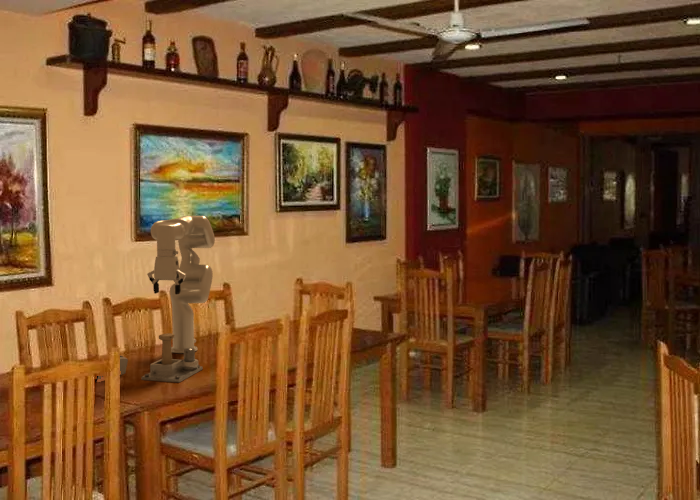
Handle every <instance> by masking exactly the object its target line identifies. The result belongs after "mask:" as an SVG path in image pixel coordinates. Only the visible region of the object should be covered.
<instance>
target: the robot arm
mask: <svg viewBox="0 0 700 500" xmlns="http://www.w3.org/2000/svg"><path fill="white" fill-rule="evenodd" d="M150 235H151V237H152V239H154V240H155V241H156V256H155V259H154V260H155V261H154V267H153V268H154V269H153V270H151V271H150V272H148V273H147V274H146V275H147V276H148V279H149V281H150V282H151V284H152V287H153V288H152V289H153V294H158V293H160V284H159V281H173V282H174V283H173V284H171V286H170V289H169V297H170V302H171V310H172V318H171V319H172V334H174V338H173V339H172V346H171V351H172V354H184V349H185V348H195V352H197V351H198V347H197V346H195V343H196V342H197V339H196V338H195V328H194V327H195V326H194V325H195V322H194V321H195V318H194V315H195V314H194V310H193V308H192V307H191V306H190V304H205V303H207V301H208V300H209V296H210V292H211V288H212V283H213V278H214V277H213V269H212V267H211V266H210V265H208V264H200V263H201V261H200V260H201V259H200V257H199V255H198V253H197V252H196V251H194V250H193V249H211V248H213V247H214V245H215V241H216V238H215V234H214V230H213V228H212V224H211V222H210V220H209V219H208V218H207V217H206V216H205V215H183V216H181V217H177V218H170V219H165V220H164V219H163V220H158V221H155V222H154V223H153V224H152V226H151V227H150ZM176 241H177V243H178V247H179V251H178V250H176ZM179 252H180V256H181V260H180V264H179V259H178V254H179ZM176 255H177V256H176Z"/></svg>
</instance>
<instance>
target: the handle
mask: <svg viewBox="0 0 700 500" xmlns="http://www.w3.org/2000/svg"><path fill="white" fill-rule="evenodd" d="M173 338H174V334H173V333H169V332H168V333H163V334H159V335H158V339H159V340H161V341H162V348H161V359H162V364H166V365H171V364H172V359H173V355H172V354H173V352H172V351H171V347H172V341H173Z"/></svg>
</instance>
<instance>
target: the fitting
mask: <svg viewBox="0 0 700 500" xmlns="http://www.w3.org/2000/svg"><path fill="white" fill-rule="evenodd" d="M195 354H196V351H195V348H185V349H184V353H183V359H175V358H172V364H171V365H166V364H162V358H160V359H158V360H156V361H154V362H152V363H150V365H149V366H150V367H149V369H150V371H149V372H148V373H144V375H143V376H141V381H153V382H154V381H155V382H167V383H181V382H182V381H184V380H187V379H188V378H190V377H191V376H193V375H195V374H197V373H199V372H200V371H202V370H203V366H201V365H200V364H199V360H198V359H196V357H195V356H196V355H195Z"/></svg>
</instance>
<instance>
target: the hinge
mask: <svg viewBox="0 0 700 500" xmlns="http://www.w3.org/2000/svg"><path fill="white" fill-rule="evenodd" d="M119 355H120V354H119ZM128 362H129V360H128V358H127V357H126V356H124V355H120V371H121V375H120V376H122V375H124V374H126V373H127V372H126V371H127V367H128ZM102 377H103V376H102ZM98 379H101V376H97V380H98Z"/></svg>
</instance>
